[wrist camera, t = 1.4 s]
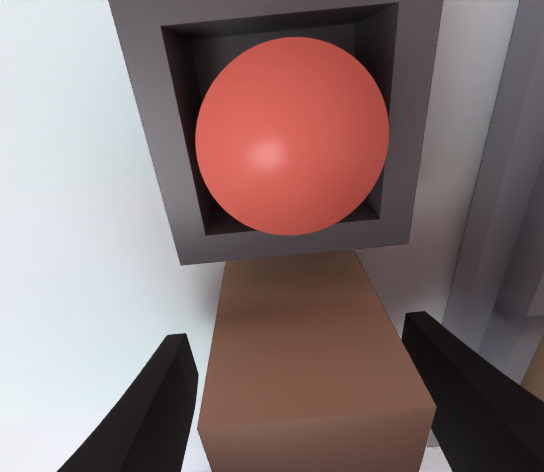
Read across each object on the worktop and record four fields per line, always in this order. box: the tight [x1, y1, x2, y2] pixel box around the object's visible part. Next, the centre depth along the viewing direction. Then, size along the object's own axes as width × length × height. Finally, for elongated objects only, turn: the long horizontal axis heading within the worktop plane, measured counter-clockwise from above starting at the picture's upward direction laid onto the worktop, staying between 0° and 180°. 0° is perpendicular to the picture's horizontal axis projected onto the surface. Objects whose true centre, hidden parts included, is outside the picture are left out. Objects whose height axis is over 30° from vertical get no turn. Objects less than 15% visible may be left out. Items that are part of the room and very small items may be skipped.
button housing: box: [108, 0, 443, 265], centre depth 7 cm, size 5×5×3 cm
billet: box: [197, 249, 436, 472], centre depth 9 cm, size 6×4×6 cm, turn 5°
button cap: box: [196, 37, 389, 236], centre depth 6 cm, size 3×3×2 cm
